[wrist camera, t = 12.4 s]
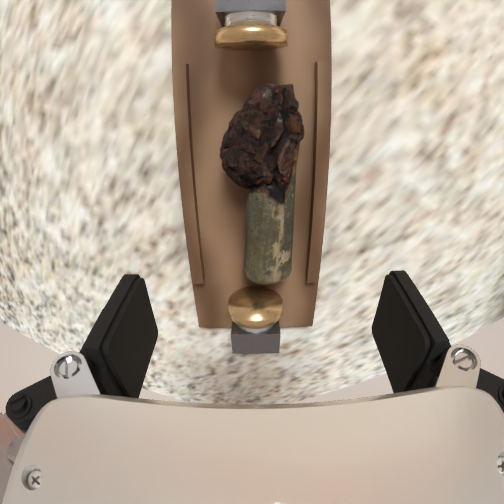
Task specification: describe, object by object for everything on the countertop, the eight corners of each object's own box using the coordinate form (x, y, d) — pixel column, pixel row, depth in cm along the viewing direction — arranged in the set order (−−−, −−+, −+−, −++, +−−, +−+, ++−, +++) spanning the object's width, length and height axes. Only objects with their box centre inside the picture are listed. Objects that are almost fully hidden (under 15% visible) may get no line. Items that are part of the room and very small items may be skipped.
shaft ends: (282, -3, 20) (289, -25, 14) (279, 321, 37) (282, 356, 32) (218, -2, 20) (209, -24, 15) (232, 321, 37) (229, 357, 32)
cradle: (325, -4, 20) (332, -12, 18) (310, 318, 38) (313, 332, 36) (175, -1, 20) (168, -9, 18) (200, 319, 39) (198, 333, 36)
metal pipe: (289, 260, 33) (294, 293, 28) (225, 258, 33) (220, 291, 28) (302, 86, 24) (313, 84, 19) (224, 83, 24) (216, 81, 19)
